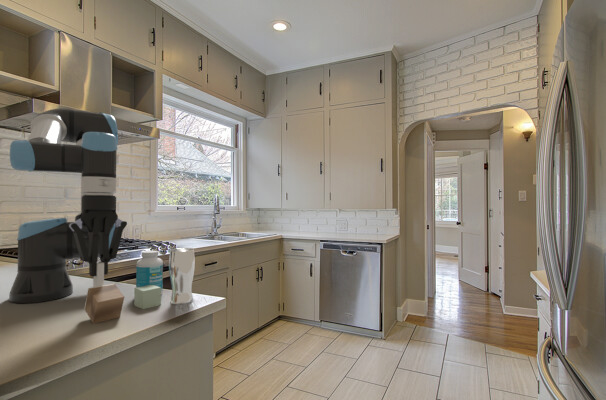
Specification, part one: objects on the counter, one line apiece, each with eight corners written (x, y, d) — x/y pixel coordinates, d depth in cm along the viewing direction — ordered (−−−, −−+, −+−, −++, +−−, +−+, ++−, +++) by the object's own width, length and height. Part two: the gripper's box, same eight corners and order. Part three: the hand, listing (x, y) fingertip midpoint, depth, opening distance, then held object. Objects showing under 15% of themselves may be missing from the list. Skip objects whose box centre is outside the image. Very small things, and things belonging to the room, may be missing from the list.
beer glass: (183, 296, 102) (183, 247, 102) (199, 300, 98) (199, 248, 98) (163, 302, 96) (163, 250, 96) (180, 306, 92) (180, 251, 92)
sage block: (134, 306, 93) (134, 287, 93) (151, 302, 97) (152, 284, 97) (142, 309, 90) (143, 291, 90) (160, 305, 94) (161, 287, 94)
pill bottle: (152, 300, 99) (152, 253, 99) (130, 298, 100) (130, 252, 100) (167, 293, 106) (168, 250, 106) (146, 291, 107) (147, 249, 108)
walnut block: (88, 287, 81) (97, 302, 78) (114, 283, 86) (124, 296, 83) (84, 308, 83) (93, 323, 79) (110, 303, 87) (119, 317, 84)
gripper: (74, 193, 78) (73, 296, 77) (132, 194, 88) (131, 285, 88) (63, 194, 82) (63, 291, 82) (120, 195, 92) (119, 281, 92)
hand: (98, 288), depth 85 cm, fingers closed
